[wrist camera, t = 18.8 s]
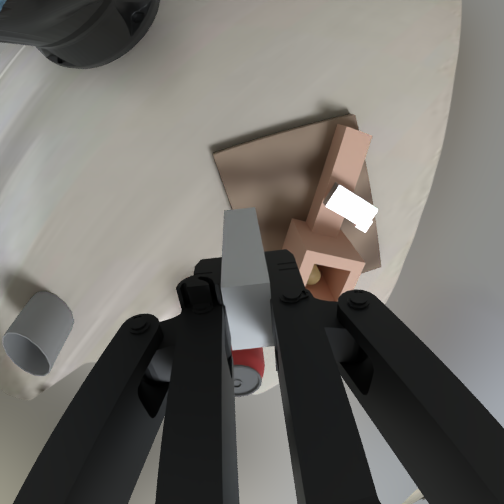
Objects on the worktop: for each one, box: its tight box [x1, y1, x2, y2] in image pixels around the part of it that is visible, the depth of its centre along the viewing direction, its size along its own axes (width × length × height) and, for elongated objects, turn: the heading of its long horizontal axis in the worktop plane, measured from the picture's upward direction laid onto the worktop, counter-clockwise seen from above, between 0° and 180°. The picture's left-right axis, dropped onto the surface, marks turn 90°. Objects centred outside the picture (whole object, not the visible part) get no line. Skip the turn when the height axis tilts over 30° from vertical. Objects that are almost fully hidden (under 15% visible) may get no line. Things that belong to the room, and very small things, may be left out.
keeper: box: [323, 182, 378, 232], centre depth 34 cm, size 3×5×7 cm, turn 62°
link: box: [282, 124, 372, 302], centre depth 32 cm, size 18×6×8 cm, turn 165°
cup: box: [3, 291, 74, 376], centre depth 38 cm, size 8×8×10 cm
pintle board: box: [213, 114, 381, 285], centre depth 34 cm, size 20×16×8 cm
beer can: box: [231, 346, 265, 397], centre depth 39 cm, size 7×7×12 cm
